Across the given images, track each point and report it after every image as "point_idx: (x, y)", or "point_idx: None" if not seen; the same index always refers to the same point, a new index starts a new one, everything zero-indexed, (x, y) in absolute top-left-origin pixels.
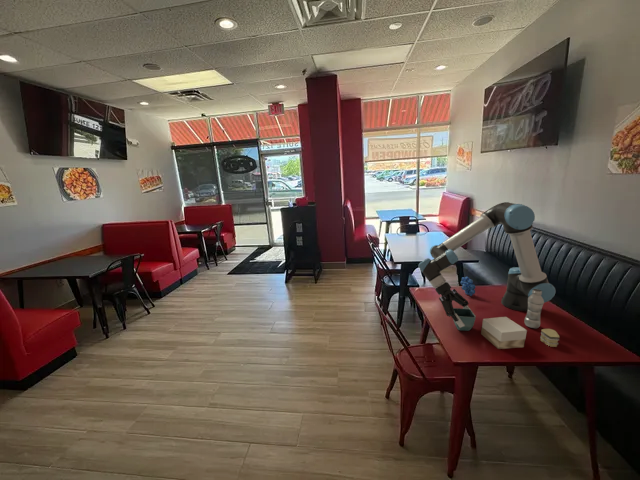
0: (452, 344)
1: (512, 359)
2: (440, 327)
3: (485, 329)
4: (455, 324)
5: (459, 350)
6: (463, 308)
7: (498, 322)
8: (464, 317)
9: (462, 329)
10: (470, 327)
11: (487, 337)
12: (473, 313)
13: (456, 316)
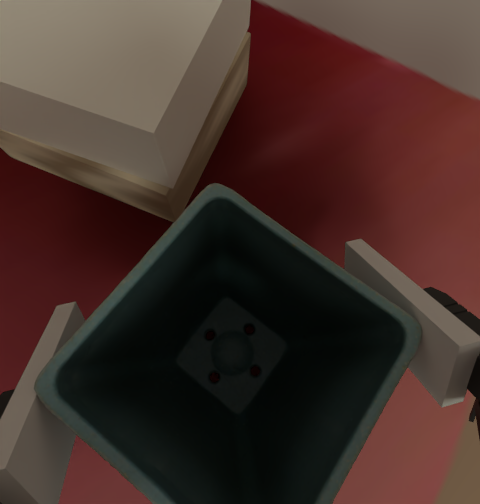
0: (473, 239)
1: (269, 13)
2: (397, 464)
3: (189, 151)
4: (293, 387)
5: (474, 178)
6: (56, 497)
7: (92, 20)
8: (331, 265)
9: (273, 316)
10: (235, 263)
11: (204, 157)
12: (46, 334)
13: (446, 321)
